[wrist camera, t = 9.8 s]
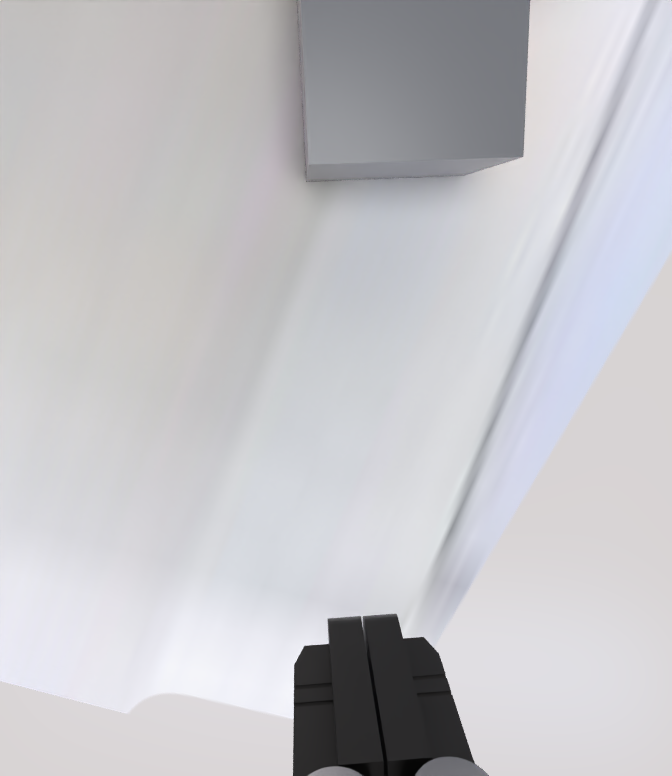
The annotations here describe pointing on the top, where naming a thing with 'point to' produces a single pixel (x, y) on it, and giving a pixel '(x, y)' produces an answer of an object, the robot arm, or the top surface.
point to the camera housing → (411, 86)
